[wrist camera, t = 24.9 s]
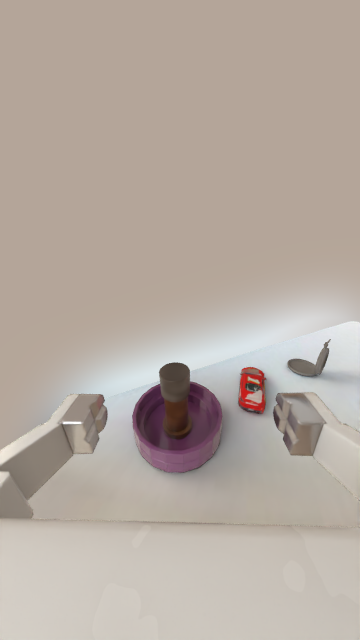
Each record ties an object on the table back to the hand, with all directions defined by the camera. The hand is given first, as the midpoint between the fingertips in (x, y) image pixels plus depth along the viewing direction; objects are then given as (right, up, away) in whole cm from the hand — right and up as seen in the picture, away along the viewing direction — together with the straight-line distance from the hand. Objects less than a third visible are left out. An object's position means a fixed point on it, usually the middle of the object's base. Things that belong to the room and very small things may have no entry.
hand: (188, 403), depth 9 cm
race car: (+16, -12, +33) cm, 39 cm away
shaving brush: (-1, -15, +25) cm, 30 cm away
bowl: (-1, -16, +26) cm, 30 cm away
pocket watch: (+32, -9, +39) cm, 51 cm away
